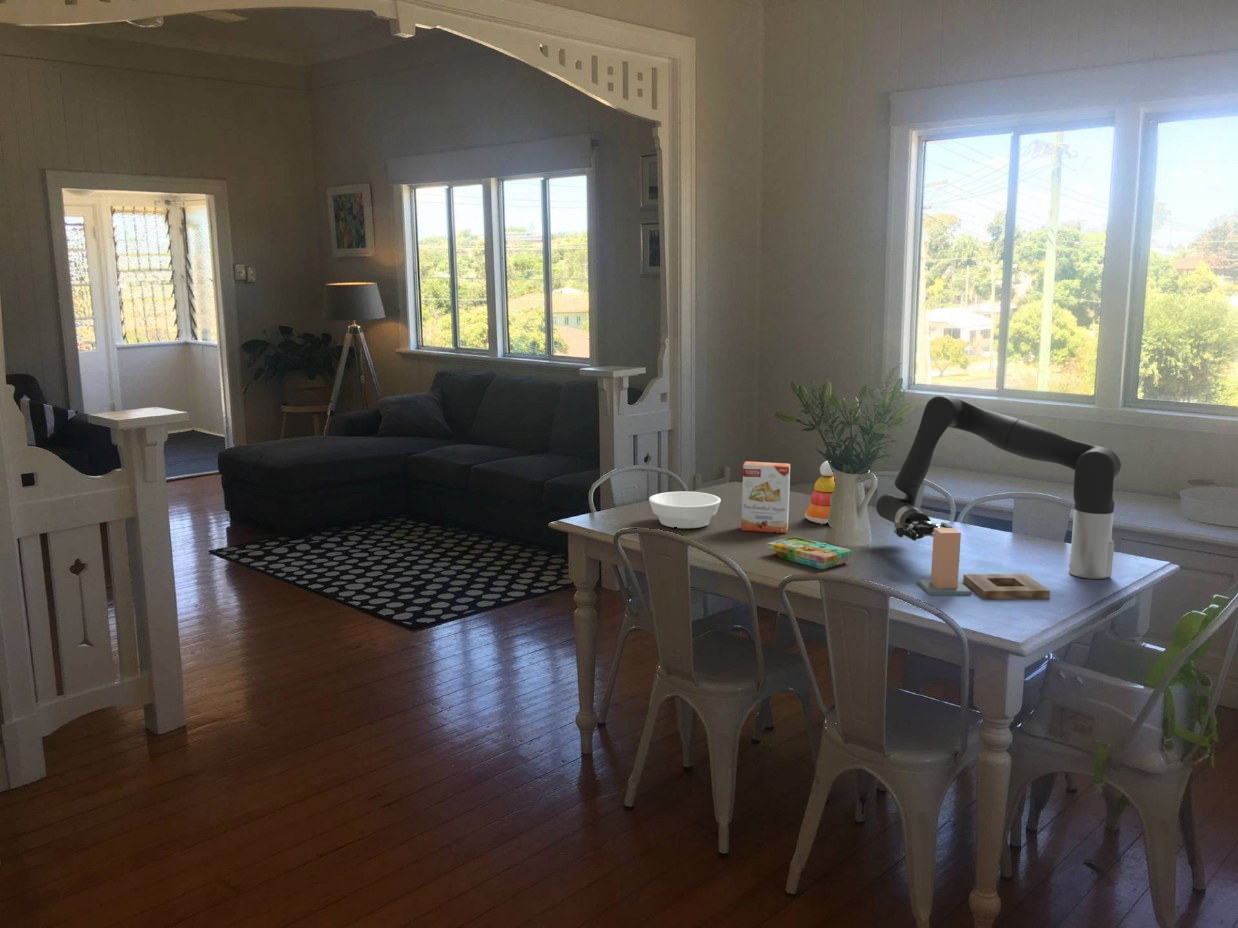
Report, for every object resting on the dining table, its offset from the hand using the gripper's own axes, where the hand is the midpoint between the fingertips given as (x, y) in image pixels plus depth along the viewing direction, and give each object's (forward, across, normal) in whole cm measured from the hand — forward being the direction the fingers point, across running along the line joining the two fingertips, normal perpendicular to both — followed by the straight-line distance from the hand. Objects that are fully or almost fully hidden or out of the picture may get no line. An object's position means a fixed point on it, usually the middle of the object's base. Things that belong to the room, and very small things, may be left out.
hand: (931, 536), depth 259 cm
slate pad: (+11, 0, +10) cm, 15 cm away
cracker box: (-49, -35, +11) cm, 61 cm away
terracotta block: (+11, 0, +10) cm, 15 cm away
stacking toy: (-61, -13, +11) cm, 63 cm away
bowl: (-57, -59, +11) cm, 83 cm away
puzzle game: (-16, -28, +11) cm, 35 cm away
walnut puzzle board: (+12, +15, +10) cm, 22 cm away
